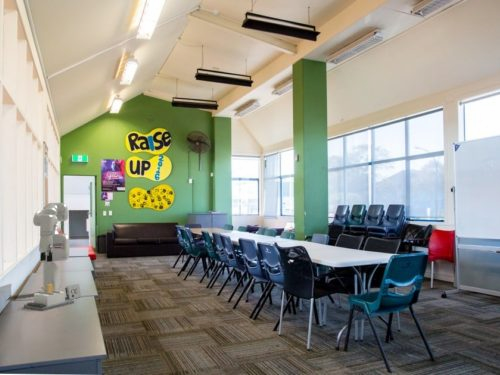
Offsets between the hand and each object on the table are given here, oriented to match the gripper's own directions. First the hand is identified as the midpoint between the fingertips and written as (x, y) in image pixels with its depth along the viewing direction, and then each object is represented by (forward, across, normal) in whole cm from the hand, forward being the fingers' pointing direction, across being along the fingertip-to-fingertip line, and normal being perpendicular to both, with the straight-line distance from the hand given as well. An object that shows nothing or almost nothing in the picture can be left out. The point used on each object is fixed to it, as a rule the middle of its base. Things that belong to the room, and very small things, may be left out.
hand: (46, 261), depth 256 cm
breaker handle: (+20, +5, 0) cm, 20 cm away
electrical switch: (+27, -2, +18) cm, 33 cm away
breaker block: (+27, +4, 0) cm, 27 cm away
